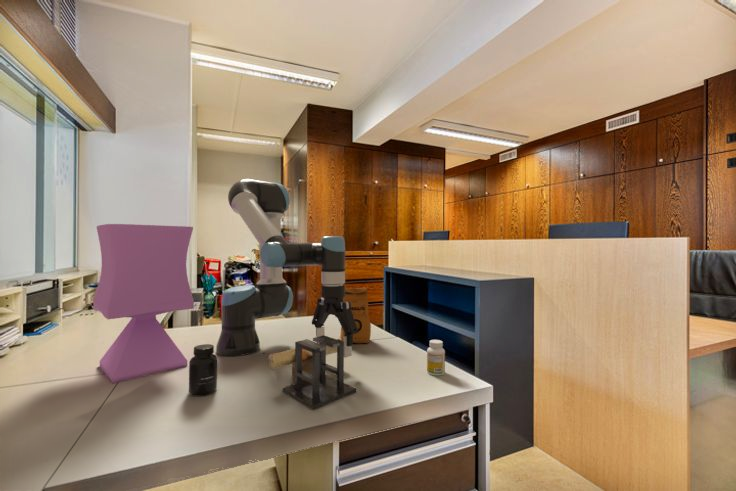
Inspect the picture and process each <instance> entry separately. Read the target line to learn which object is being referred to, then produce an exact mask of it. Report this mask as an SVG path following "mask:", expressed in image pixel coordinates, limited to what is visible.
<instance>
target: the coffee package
mask: <svg viewBox="0 0 736 491" xmlns="http://www.w3.org/2000/svg"><path fill="white" fill-rule="evenodd" d="M368 296H369V295H368V287H355V288H354V287H345V296H344V297H343V302H350V303H351V311H352V314H353V317H354V320H355V323H356V326H357V330H358V333H357V334H353V344H369V341H370V339H371V333H372V329H371V328H372V326H371V320H370V317H369V312H370V311H369V298H368ZM340 326H341V325H340ZM353 330H354V329H353ZM348 331H349V330H348ZM344 335H345V333H344V330H343V328H342V326H341V327H340V337H339V339H340V340H341V341H343V336H344Z"/></svg>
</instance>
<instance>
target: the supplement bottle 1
mask: <svg viewBox="0 0 736 491" xmlns="http://www.w3.org/2000/svg"><path fill="white" fill-rule="evenodd" d="M214 347H215V346H214V345H213V344H212V343H211V344H209V343H205V344H199V345H195V346H194V347H193V352H192V353H193V357H191V358H190V360H189V365H188V393H189V395H190V396H194V397H202V396H203V397H205V396H209V395H210V394H213V393H215V391H216V390H217V388H218V387H217V386H218V357H217V356H216V354H214V353H215V349H214Z"/></svg>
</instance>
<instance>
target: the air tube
mask: <svg viewBox="0 0 736 491" xmlns="http://www.w3.org/2000/svg"><path fill="white" fill-rule="evenodd" d="M336 339H337V340H340V341H341V339H340V338H336ZM319 344H320V343H319ZM326 346H327V345H326ZM332 354H337V347H334V348H332V347H329V346H327V349H326V356H328V355H332ZM309 359H312V352H310V351H307V350H305V349H302V361H305V360H309ZM267 362H268V367H269V368H270V369H271V370H275V369H280V368H283V367H287V366H290V365H291V366H292V364H295V348H292V349H288V350H283V351H280V352H279V351H278V352H274V353H270V354H269V355H268V358H267Z"/></svg>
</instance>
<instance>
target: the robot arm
mask: <svg viewBox="0 0 736 491" xmlns="http://www.w3.org/2000/svg"><path fill="white" fill-rule="evenodd" d="M227 200H228V204H229V206H230V208H231V210H232V211H233V212H234V213H236V215H239V216H240V217H241V220H242V221H243V222H244V224H245V225H246V226H247V228H248V229H249V231H250V232H251V234H252V235H253V237H254V238H255V239H256V241H257V242H258V244H259V246H258V247H259V250H258V251H259V277H260V278H259V280H258V281H257V282H256V286H255V285H254V284H253V285H252V284H249V285H248V284H247V285H246V284H245V285H238V286H233V287H229V288H227V289H226V290H224V291H223V292H222V295H221V302H220V304H221V331H220V334H219V338H218V340H217V343H216V347H215V350H216V351H215V353H216V354H217V355H219V356H223V357H238V356H245V355H250V354H252V353H255V352H258V351H259V350H260V348H261V345H260V344H261V341H260V339H259V336H258V333H257V330H256V320H258V319H264V318H270V317H279V316H282V315H286V314H287V313H289V311H290V309H291V308H292V306H293V303H294V294H293V291H292V288H291V287H290V286H288V285H287V281H286V280H285V279H284V278H283V267H284V268H285V267H302V266H303V267H305V266H306V267H307V266H320V267H321V268H320V269H321V270H320V271H321V272H320V273H321V276H320V277H321V279H320V283H321V284H322V285H321V290H320V291H321V294H320V295H321V297H319V298H317V303H316V307H315V309H314V310H315V311H314V313H313V317H312V320H311V325H312V326H313V325H314V327H315V337H319V336H323V335H324V336H326V335H325V325H324V324H325V323H326V321H327V320H328V318H329V316H330V315H333V316H334V317H335V318H337V320H338V323H339V324H340V326H342V328H343V330H344V333H345V335H344V336H343V342H344V359H345V358H348V357H352V356H353V344H354V343H353V334H357V333H358V330H357V326H356V323H355V320H354V317H353V314H352V311H351V303H350V302H343V297H344V296H345V288H346V286H345V283H346V242H345V238H344V237H343V236H336V235H335V236H331V235H330V236H325V235H324V236H322V237H321V239H320V240H321V241H320V242H288V240H286V239H285V238H284V236H283V234H282V227H281V226H282V225H281V223H282V222H281V219H282V218H283V217H284V216H285V213H286V211H288V210H289V206H290V202H291V200H290V195H289V191H288V189H287V188H286V187H285V185H283V184H281V183H276V182H274V181H264V180H257V179H252V178H251V179H250V178H245V179H241V180H238V181H237V182H235V183H234V184H232V186H230V189H229V191H228V194H227ZM353 329H354V330H353ZM348 330H349V331H348ZM316 343H318V342H316Z"/></svg>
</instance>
